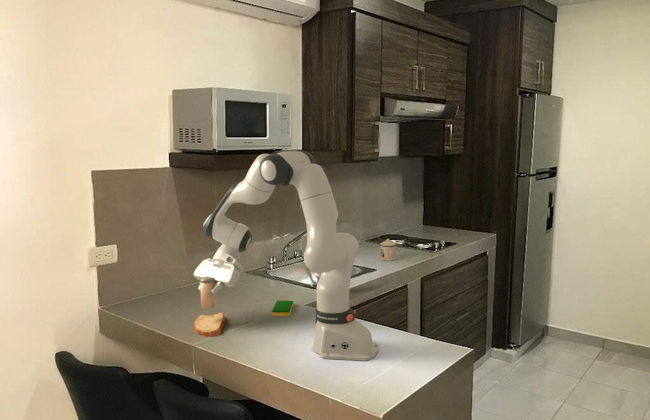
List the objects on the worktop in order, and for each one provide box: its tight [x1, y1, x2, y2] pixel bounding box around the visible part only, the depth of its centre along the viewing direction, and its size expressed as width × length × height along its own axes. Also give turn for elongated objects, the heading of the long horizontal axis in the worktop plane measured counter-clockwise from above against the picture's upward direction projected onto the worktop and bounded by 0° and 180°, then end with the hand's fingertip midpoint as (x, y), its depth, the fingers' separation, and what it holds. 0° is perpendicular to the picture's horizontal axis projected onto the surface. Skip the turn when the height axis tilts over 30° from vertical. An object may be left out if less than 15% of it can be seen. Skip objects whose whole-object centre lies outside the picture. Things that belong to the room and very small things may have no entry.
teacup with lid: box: [379, 238, 397, 262], centre depth 313 cm, size 12×9×12 cm
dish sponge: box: [271, 300, 294, 317], centre depth 230 cm, size 7×14×2 cm, turn 176°
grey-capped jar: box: [199, 276, 216, 310], centre depth 210 cm, size 5×5×11 cm
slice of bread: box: [193, 312, 226, 338], centre depth 212 cm, size 18×18×4 cm
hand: (206, 291), depth 210 cm, fingers closed on grey-capped jar, 5 cm apart
